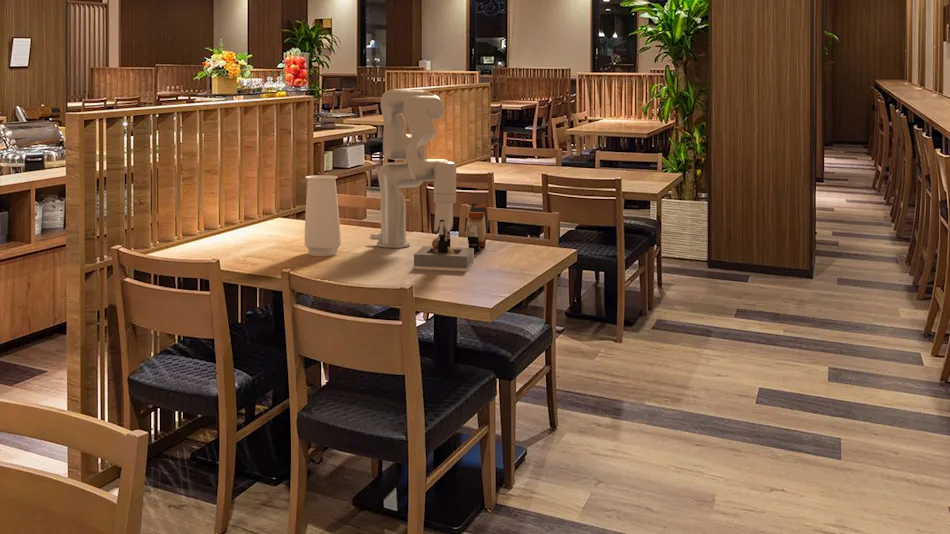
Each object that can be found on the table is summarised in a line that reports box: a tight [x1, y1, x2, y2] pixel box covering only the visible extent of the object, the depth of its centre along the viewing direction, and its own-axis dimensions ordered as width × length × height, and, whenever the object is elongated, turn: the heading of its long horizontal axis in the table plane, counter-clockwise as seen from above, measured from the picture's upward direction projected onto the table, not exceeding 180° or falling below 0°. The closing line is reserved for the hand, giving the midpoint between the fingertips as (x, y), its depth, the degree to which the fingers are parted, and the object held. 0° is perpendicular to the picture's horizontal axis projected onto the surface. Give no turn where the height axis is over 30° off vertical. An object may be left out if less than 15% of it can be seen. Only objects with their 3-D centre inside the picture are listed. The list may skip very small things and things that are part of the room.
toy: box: [466, 202, 490, 253], centre depth 337 cm, size 16×6×20 cm
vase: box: [304, 174, 342, 257], centre depth 322 cm, size 13×13×28 cm
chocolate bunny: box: [431, 231, 455, 254], centre depth 306 cm, size 6×8×10 cm
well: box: [413, 245, 475, 272], centre depth 306 cm, size 18×16×5 cm
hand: (444, 250), depth 306 cm, fingers closed on chocolate bunny, 4 cm apart
